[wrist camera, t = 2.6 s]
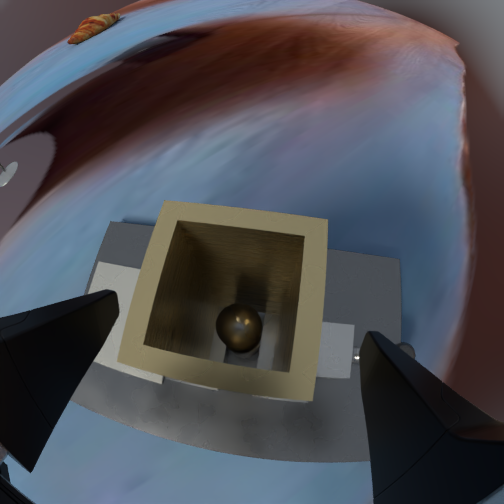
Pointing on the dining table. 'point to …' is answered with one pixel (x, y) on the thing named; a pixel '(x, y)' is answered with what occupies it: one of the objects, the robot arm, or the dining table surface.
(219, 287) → the sleeve
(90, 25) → the croissant
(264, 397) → the grey base plate
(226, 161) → the dining table surface
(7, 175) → the goblet set
